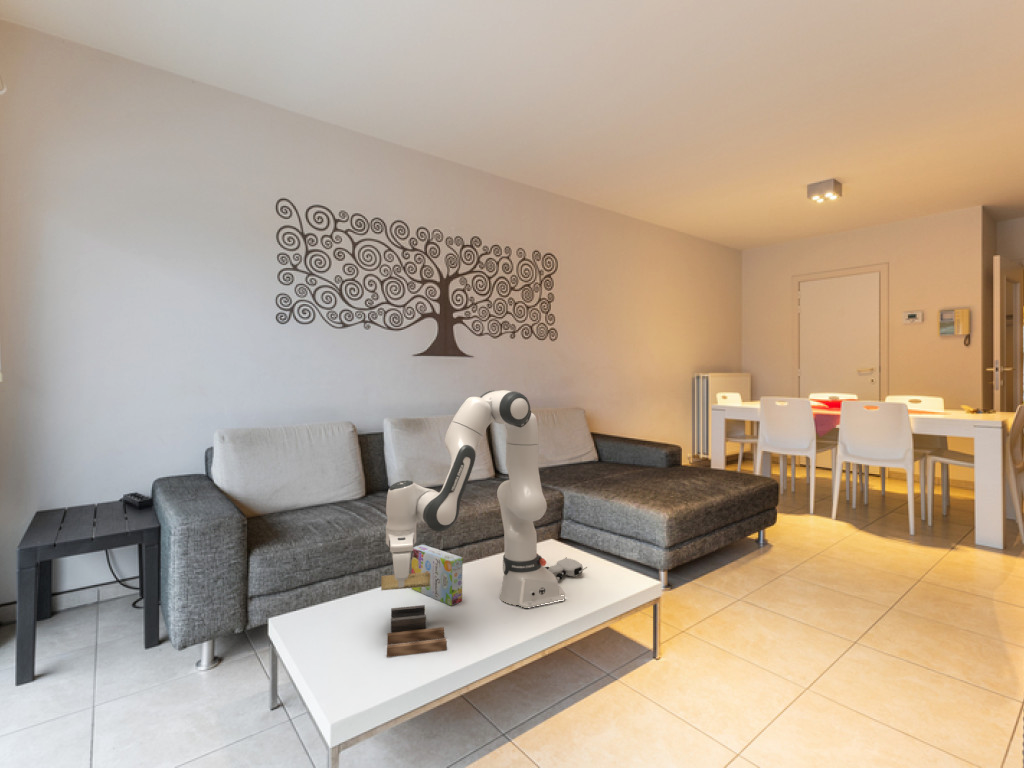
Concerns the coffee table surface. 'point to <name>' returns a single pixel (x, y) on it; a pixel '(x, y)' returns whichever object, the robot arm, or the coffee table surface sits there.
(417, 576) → the brass rod
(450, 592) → the snack box
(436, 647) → the copper channel
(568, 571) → the robot toy
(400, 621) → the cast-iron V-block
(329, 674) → the coffee table surface
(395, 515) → the robot arm
